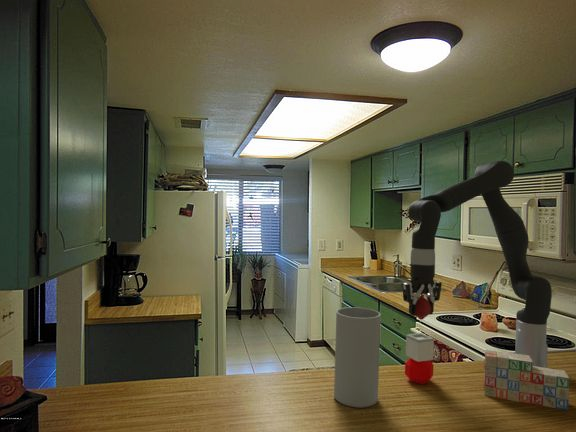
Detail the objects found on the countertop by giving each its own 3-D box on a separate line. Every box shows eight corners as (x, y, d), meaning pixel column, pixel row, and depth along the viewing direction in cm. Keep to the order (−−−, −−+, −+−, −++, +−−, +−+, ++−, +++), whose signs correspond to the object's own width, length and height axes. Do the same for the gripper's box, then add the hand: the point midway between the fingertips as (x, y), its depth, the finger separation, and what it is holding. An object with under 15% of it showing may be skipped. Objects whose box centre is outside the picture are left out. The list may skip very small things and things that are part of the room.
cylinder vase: (338, 386, 128) (340, 305, 128) (379, 393, 124) (382, 309, 124) (329, 404, 116) (332, 315, 116) (375, 412, 113) (378, 320, 112)
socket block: (420, 353, 138) (421, 332, 138) (433, 359, 132) (433, 338, 132) (405, 355, 136) (406, 334, 136) (417, 361, 130) (418, 340, 130)
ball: (434, 379, 135) (435, 356, 135) (428, 388, 129) (429, 363, 129) (409, 374, 140) (410, 351, 140) (402, 382, 133) (403, 358, 133)
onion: (421, 322, 130) (421, 297, 130) (407, 318, 135) (408, 293, 135) (434, 320, 133) (435, 295, 133) (420, 316, 138) (421, 292, 138)
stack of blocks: (563, 402, 122) (565, 360, 122) (568, 411, 116) (570, 367, 116) (483, 387, 131) (484, 348, 130) (483, 395, 125) (485, 354, 125)
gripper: (432, 260, 140) (431, 310, 140) (396, 261, 135) (395, 313, 135) (448, 263, 133) (447, 316, 133) (411, 264, 128) (409, 319, 128)
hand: (421, 314), depth 134 cm, fingers closed on onion, 6 cm apart
